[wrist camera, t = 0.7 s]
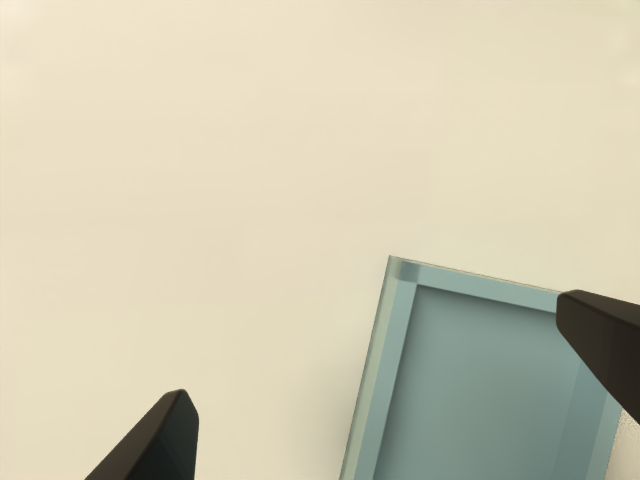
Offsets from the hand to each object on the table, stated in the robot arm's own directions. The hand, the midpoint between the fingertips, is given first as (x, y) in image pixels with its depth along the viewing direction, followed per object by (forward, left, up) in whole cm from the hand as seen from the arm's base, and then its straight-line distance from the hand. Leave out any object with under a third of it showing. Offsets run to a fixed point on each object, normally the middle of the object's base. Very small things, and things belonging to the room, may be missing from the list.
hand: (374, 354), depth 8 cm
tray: (-7, -12, -16) cm, 22 cm away
